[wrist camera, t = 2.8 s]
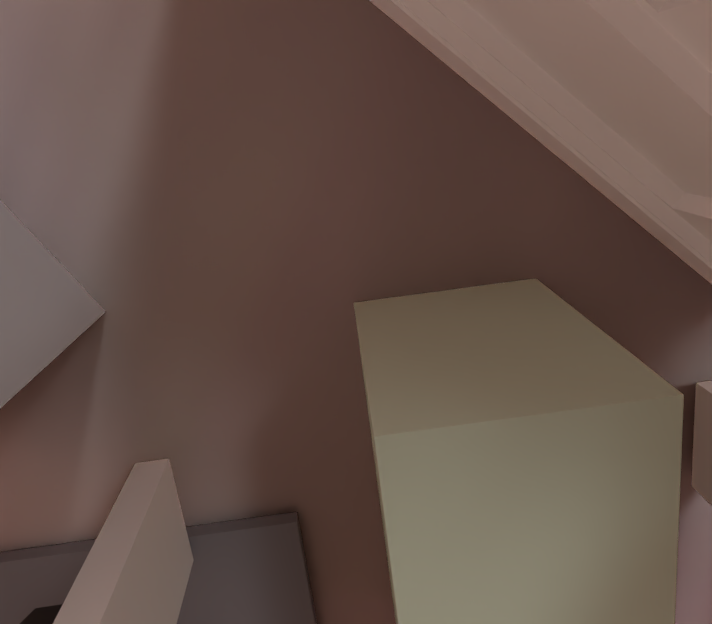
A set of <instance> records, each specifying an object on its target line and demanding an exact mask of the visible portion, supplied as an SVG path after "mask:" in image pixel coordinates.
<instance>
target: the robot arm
mask: <svg viewBox="0 0 712 624" xmlns="http://www.w3.org/2000/svg"><path fill="white" fill-rule="evenodd" d="M692 487H693V488H694V489H695V490H696V491H697V492H698V493H699V494H700V495H701V496H702V497H703V498H704V499H705V500H706V501H707V502H708V503H709V504H710V505H712V380H711V381H704V382H697V383H696V393H695V416H694V439H693V462H692ZM193 561H194V559H193V555H192V551H191V547H190V543H189V539H188V534H187V530H186V526H185V522H184V518H183V514H182V510H181V505H180V501H179V497H178V493H177V489H176V485H175V481H174V476H173V472H172V468H171V464H170V460H169V458H168V459H161V460H154V461H147V462H140V463H135V464H134V466H133V468H132V470H131V472H130V474H129V476H128V478H127V480H126V482H125V484H124V486H123V488H122V490H121V492H120V494H119V496H118V497H117V499H116V501H115V503H114V505H113V507H112V509H111V511H110V513H109V515H108V517H107V519H106V521H105V523H104V525H103V527H102V529H101V531H100V533H99V535H98V536H97V538H96V540H95V542H94V544H93V546H92V548H91V550H90V552H89V554H88V556H87V558H86V560H85V562H84V564H83V566H82V568H81V570H80V572H79V574H78V575H77V577H76V579H75V581H74V583H73V585H72V587H71V589H70V591H69V593H68V595H67V597H66V599H65V601H64V603H63V604H60V605H53V606H47V607H40V608H35V609H34V610H33V611H32V612H31V613H30V614H29V615H28V616H27V617H26V618H25V619H24V620H23V621H22V622H21V623H20V624H177V620H178V616H179V613H180V609H181V605H182V602H183V598H184V594H185V590H186V587H187V583H188V579H189V575H190V572H191V568H192V564H193Z"/></svg>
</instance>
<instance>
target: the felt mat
mask: <svg viewBox="0 0 712 624" xmlns="http://www.w3.org/2000/svg"><path fill="white" fill-rule="evenodd" d="M186 530H187V534H188V539H189V543H190V547H191V551H192V555H193V559H194V561H193V564H192V568H191V572H190V575H189V579H188V583H187V587H186V590H185V594H184V598H183V602H182V605H181V609H180V613H179V616H178V620H177V624H317V620H316V614H315V609H314V603H313V598H312V592H311V587H310V581H309V575H308V570H307V564H306V559H305V553H304V548H303V542H302V536H301V531H300V525H299V520H298V514H297V512H292V513H285V514H278V515H270V516H263V517H256V518H249V519H241V520H234V521H227V522H219V523H212V524H205V525H197V526H190V527H186ZM95 540H96V539H95ZM95 540H87V541H80V542H73V543H65V544H58V545H51V546H43V547H36V548H29V549H21V550H14V551H7V552H0V624H20V623H21V622H22V621H23V620H24V619H25V618H26V617H27V616H28V615H29V614H30V613H31V612H32V611H33V610H34V609H35V608H40V607H47V606H53V605H60V604H63V603H64V601H65V599H66V597H67V595H68V593H69V591H70V589H71V587H72V585H73V583H74V581H75V579H76V577H77V575H78V574H79V572H80V570H81V568H82V566H83V564H84V562H85V560H86V558H87V556H88V554H89V552H90V550H91V548H92V546H93V544H94V542H95Z"/></svg>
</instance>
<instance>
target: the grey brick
mask: <svg viewBox="0 0 712 624" xmlns="http://www.w3.org/2000/svg"><path fill="white" fill-rule="evenodd" d="M105 312H106V311H105V310H104V309H103V308H102V307H101V306H100V305H99V304H98V303H97V302H96V301H95V299H94V298H93V297H92V296H91V295H90V294H89V293H88V292H87V291H86V290H85V289H84V288H83V287H82V286H81V285H80V284H79V283H78V281H77V280H76V279H75V278H74V277H73V276H72V275H71V274H70V273H69V272H68V271H67V270H66V269H65V268H64V267H63V266H62V265H61V263H60V262H59V261H58V260H57V259H56V258H55V257H54V256H53V255H52V254H51V253H50V252H49V251H48V250H47V249H46V248H45V247H44V245H43V244H42V243H41V242H40V241H39V240H38V239H37V238H36V237H35V236H34V235H33V234H32V233H31V232H30V231H29V230H28V228H27V227H26V226H25V225H24V224H23V223H22V222H21V221H20V220H19V219H18V218H17V217H16V216H15V215H14V214H13V213H12V212H11V210H10V209H9V208H8V207H7V206H6V205H5V204H4V203H3V202H2V201H1V200H0V408H2V407H3V406H4V405H5V404H6V403H7V402H8V401H9V400H10V399H11V398H12V397H14V396H15V395H16V394H17V393H18V392H19V391H20V390H21V389H22V388H23V387H24V386H26V385H27V384H28V383H29V382H30V381H31V380H32V379H33V378H34V377H35V376H36V375H38V374H39V373H40V372H41V371H42V370H43V369H44V368H45V367H46V366H47V365H48V364H50V363H51V362H52V361H53V360H54V359H55V358H56V357H57V356H58V355H59V354H60V353H61V352H63V351H64V350H65V349H66V348H67V347H68V346H69V345H70V344H71V343H72V342H73V341H75V340H76V339H77V338H78V337H79V336H80V335H81V334H82V333H83V332H84V331H85V330H87V329H88V328H89V327H90V326H91V325H92V324H93V323H94V322H95V321H96V320H97V319H99V318H100V317H101V316H102V315H103V314H104V313H105Z"/></svg>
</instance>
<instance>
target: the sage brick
mask: <svg viewBox="0 0 712 624" xmlns="http://www.w3.org/2000/svg"><path fill="white" fill-rule="evenodd" d="M354 310H355V317H356V325H357V333H358V340H359V348H360V355H361V363H362V371H363V378H364V386H365V393H366V401H367V409H368V416H369V424H370V431H371V439H372V447H373V454H374V462H375V469H376V477H377V485H378V492H379V500H380V507H381V515H382V523H383V530H384V538H385V545H386V553H387V561H388V568H389V576H390V583H391V591H392V599H393V606H394V613H395V620H396V624H675V606H676V580H677V555H678V530H679V505H680V480H681V455H682V429H683V404H684V394H682V393H681V392H680V391H678V390H677V389H676V388H675V387H673V386H672V385H671V384H670V383H668V382H667V381H666V380H664V379H663V378H662V377H661V376H659V375H658V374H657V373H656V372H654V371H653V370H652V369H651V368H649V367H648V366H647V365H645V364H644V363H643V362H642V361H640V360H639V359H638V358H637V357H635V356H634V355H633V354H631V353H630V352H629V351H628V350H626V349H625V348H624V347H623V346H621V345H620V344H619V343H618V342H616V341H615V340H614V339H612V338H611V337H610V336H609V335H607V334H606V333H605V332H604V331H602V330H601V329H600V328H598V327H597V326H596V325H595V324H593V323H592V322H591V321H590V320H588V319H587V318H586V317H584V316H583V315H582V314H581V313H579V312H578V311H577V310H576V309H574V308H573V307H572V306H571V305H569V304H568V303H567V302H565V301H564V300H563V299H562V298H560V297H559V296H558V295H557V294H555V293H554V292H553V291H551V290H550V289H549V288H548V287H546V286H545V285H544V284H543V283H541V282H540V281H539V280H538V279H536V278H534V279H526V280H519V281H511V282H504V283H496V284H489V285H482V286H474V287H467V288H459V289H452V290H444V291H437V292H429V293H422V294H414V295H407V296H399V297H392V298H384V299H377V300H369V301H362V302H354Z"/></svg>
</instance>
